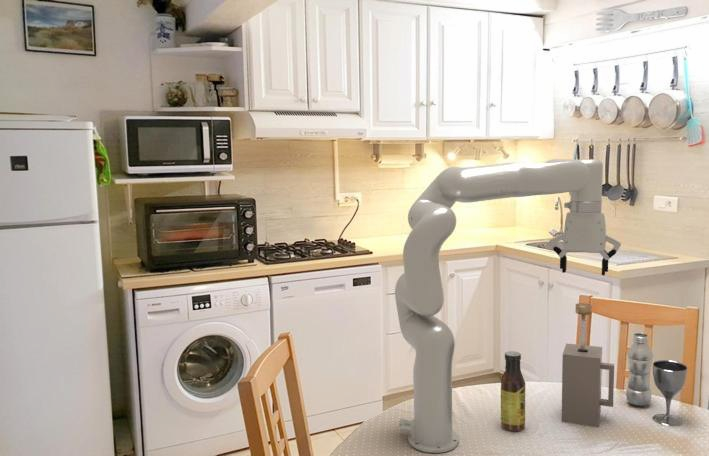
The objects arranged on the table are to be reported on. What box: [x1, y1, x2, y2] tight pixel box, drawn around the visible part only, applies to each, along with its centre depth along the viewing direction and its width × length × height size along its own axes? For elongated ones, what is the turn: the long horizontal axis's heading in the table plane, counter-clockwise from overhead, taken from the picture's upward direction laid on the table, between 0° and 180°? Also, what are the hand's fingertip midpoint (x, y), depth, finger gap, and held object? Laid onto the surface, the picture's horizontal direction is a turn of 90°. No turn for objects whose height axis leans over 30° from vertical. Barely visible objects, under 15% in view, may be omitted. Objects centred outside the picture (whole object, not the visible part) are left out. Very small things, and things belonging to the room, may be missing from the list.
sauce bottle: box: [500, 350, 526, 432], centre depth 161 cm, size 7×6×20 cm
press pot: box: [561, 342, 615, 428], centre depth 165 cm, size 12×9×19 cm
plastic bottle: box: [625, 332, 654, 407], centre depth 172 cm, size 6×7×20 cm
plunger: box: [575, 302, 593, 352], centre depth 164 cm, size 7×7×19 cm
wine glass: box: [652, 359, 688, 427], centre depth 162 cm, size 8×8×15 cm
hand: (583, 273), depth 161 cm, fingers open, 9 cm apart
